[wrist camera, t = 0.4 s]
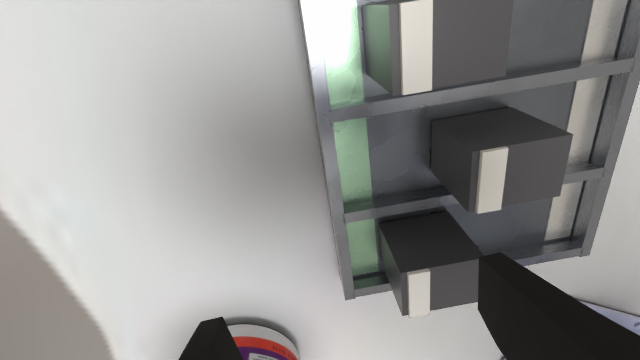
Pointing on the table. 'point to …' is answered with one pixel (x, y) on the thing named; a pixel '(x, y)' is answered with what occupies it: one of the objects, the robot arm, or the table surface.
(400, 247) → the breaker far
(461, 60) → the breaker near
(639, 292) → the table surface
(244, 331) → the pill bottle
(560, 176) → the block
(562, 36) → the panel
